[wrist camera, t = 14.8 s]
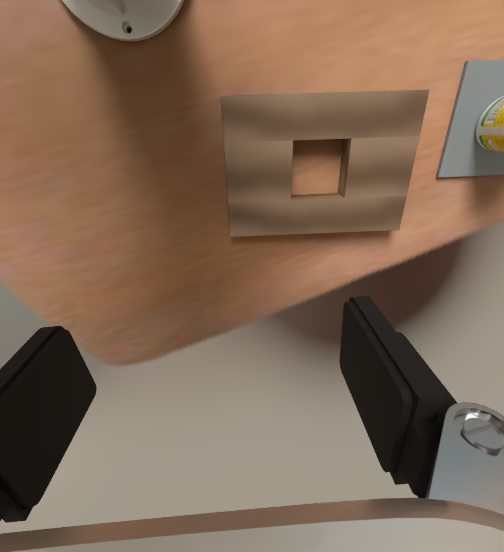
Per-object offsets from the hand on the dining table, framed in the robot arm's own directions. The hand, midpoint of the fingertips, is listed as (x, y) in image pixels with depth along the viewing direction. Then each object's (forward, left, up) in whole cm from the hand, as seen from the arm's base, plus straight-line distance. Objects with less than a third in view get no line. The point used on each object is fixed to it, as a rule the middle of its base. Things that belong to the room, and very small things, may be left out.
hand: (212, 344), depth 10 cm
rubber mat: (-6, +30, -27) cm, 40 cm away
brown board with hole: (-2, +10, -27) cm, 29 cm away
